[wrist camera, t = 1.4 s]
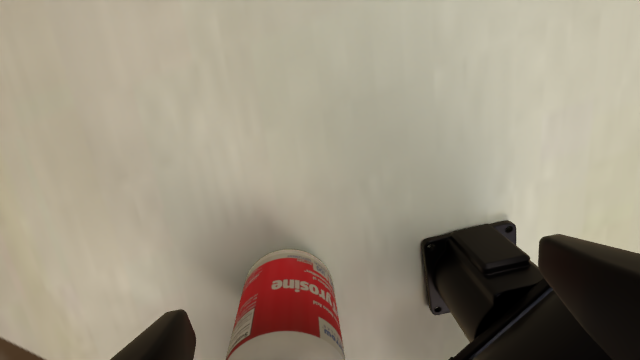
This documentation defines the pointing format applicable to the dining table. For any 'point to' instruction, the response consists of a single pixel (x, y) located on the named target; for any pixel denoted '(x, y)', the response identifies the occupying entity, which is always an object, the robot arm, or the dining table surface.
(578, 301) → the robot arm
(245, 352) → the pill bottle
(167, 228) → the dining table surface
